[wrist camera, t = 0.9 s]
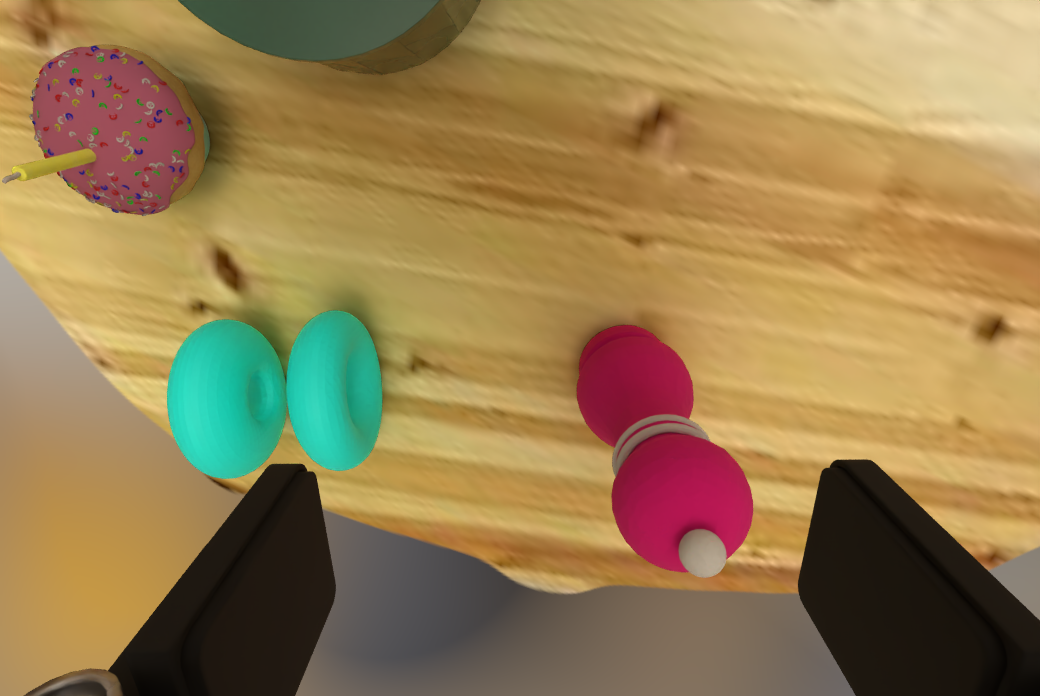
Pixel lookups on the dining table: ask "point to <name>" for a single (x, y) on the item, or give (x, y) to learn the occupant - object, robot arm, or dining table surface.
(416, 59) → the tin
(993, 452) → the dining table surface
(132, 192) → the cupcake
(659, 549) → the pepper mill
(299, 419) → the turquoise spool shape
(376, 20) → the lid
